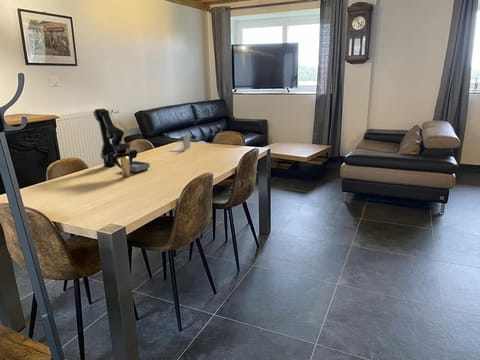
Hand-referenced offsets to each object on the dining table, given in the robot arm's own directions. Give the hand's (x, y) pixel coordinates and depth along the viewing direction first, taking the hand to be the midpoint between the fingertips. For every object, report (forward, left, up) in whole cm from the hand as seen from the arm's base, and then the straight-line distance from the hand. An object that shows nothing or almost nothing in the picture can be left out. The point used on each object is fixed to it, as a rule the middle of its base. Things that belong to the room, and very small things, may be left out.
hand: (126, 166), depth 221 cm
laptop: (-15, +84, -7) cm, 85 cm away
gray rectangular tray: (-6, +15, -7) cm, 17 cm away
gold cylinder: (-1, +1, -7) cm, 7 cm away
